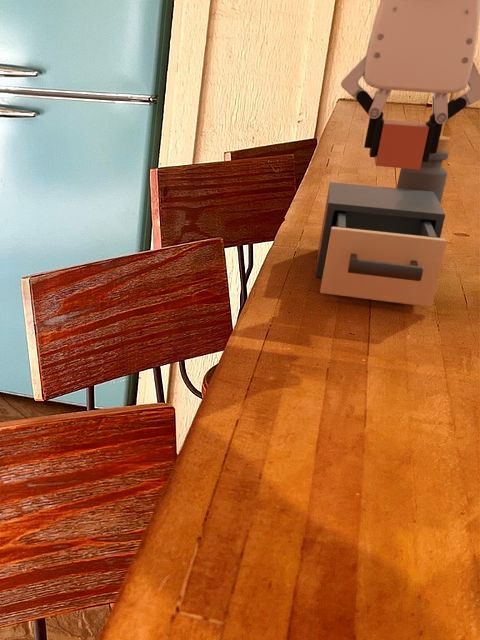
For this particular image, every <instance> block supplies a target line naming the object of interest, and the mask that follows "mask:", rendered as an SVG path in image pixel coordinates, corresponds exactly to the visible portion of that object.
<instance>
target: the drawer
mask: <svg viewBox="0 0 480 640" xmlns="http://www.w3.org/2000/svg"><path fill="white" fill-rule="evenodd" d="M447 242H448V241H447V239H446V238H444V237H440V238H437V236H436V234H435V232H434V229H433V227H432V225H431V222H430V220H427V219H417V218H407V217H397V216H387V215H377V214H367V213H357V212H347V211H338V213H337V218H336V224H335V227H331V233H330V239H329V244H328V250H327V255H326V261H325V267H324V272H323V278H321V284H320V289H319V293H320V294H325V295H326V294H327V295H332V296H333V295H334V296H340V297H349V298H356V299H363V300H372V301H379V302H387V303H395V304H402V305H403V304H404V305H412V306H418V307H419V306H420V307H427V308H432V307H433V304H434V303H433V302H434V299H435V295H436V290H437V286H438V281H439V277H440V273H441V268H442V265H443V259H444V255H445V250H446V246H447V244H448V243H447Z"/></svg>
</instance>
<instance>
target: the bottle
mask: <svg viewBox="0 0 480 640" xmlns="http://www.w3.org/2000/svg"><path fill="white" fill-rule="evenodd" d="M450 141H451V137H449V136H445V135H440V139H439V143H438V148H437V152H436V154H432V153H430V155H429V160H428V162H421V167H420V170H416V169H405V168H400V171H399V175H398V178H397V179H398V180H397V184H396V188H398V189H409V190H420V191H431V192H434V193H435V195H436V197H437V199H438V201H439V203H440V205H441V206H442V201H443V200H442V199H443V195H444V190H445V187H446V182H447V177H448V171H447V170H446V169H445V168H444V167H443V166H442V164H443V161H446V160H448V159H449V155H450V152H449V151H448V150H447V148H448V146H449V144H450Z"/></svg>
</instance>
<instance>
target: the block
mask: <svg viewBox="0 0 480 640" xmlns="http://www.w3.org/2000/svg"><path fill="white" fill-rule="evenodd" d="M428 130H429V127H428V126H427V125H426V122H420V121H419V122H417V121H408V120H407V121H406V120H393V119H384V124H383V129H382V134H381V139H380V144H379V149H378V154H377V156H375V157H374V159H373V160H374V165H375V167H384V168H395V169H401V168H405V169H416V170H420V167H421V162H422V158H423V153H424V148H425V144H426V139H427V135H428Z"/></svg>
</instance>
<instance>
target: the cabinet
mask: <svg viewBox="0 0 480 640" xmlns="http://www.w3.org/2000/svg"><path fill="white" fill-rule="evenodd" d="M328 184H329V185H328V191H327V196H326V201H325V208H324V214H323V218H322V225H321V231H320V235H319V242H318V246H317V247H318V248H317V257H316V258H317V259H316V265H315V266H316V268H315V278H318V279H319V278H320V279H322V278H323V272H324V267H325V261H326V255H327V250H328V244H329V239H330V233H331V227H335V224H336V218H337V213H338V211H347V212H357V213H367V214H377V215H387V216H397V217H407V218H417V219H427V220H430V222H431V225H432V227H433V229H434V232H435V234H436V236H437V238H441V236H442V232H443V227H444V223H445V219H446V213H445V210H444V209H443V206H442V204H441V205H440V203H439V201H438V199H437V197H436V195H435V193H434V192H431V191H420V190H409V189H398V188H397V187H388V186H387V187H386V186H374V185H366V184H365V185H364V184H355V183H354V184H352V183H343V182H332V181H330V182H329V183H328Z"/></svg>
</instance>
